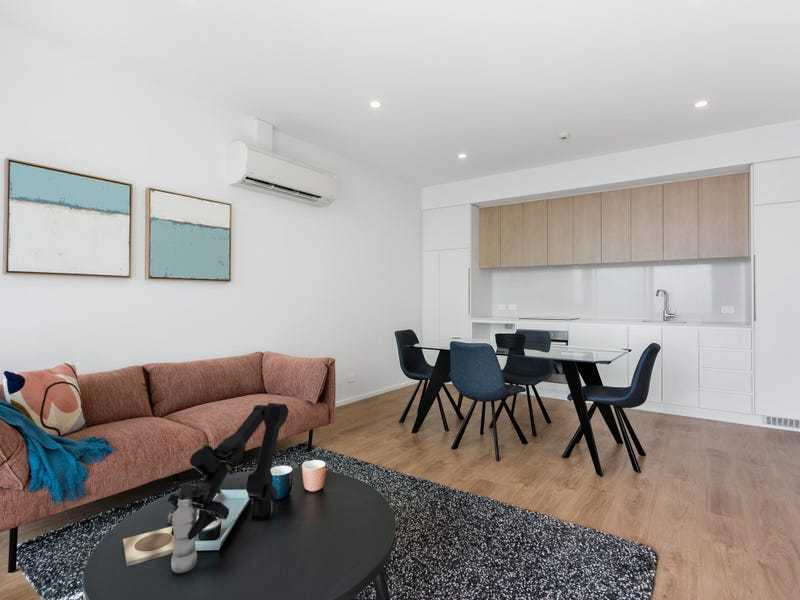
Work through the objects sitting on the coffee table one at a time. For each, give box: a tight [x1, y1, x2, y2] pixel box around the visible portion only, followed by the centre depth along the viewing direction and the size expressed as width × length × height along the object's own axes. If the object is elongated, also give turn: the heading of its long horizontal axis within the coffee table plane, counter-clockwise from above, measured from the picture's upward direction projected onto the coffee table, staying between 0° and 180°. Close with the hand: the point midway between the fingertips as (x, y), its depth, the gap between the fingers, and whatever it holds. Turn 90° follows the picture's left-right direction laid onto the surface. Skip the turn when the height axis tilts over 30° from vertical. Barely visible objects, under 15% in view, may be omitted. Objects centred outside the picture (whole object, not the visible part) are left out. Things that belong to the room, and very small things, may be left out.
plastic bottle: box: [170, 495, 199, 574], centre depth 119 cm, size 6×7×20 cm
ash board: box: [122, 525, 174, 567], centre depth 130 cm, size 15×15×1 cm
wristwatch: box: [167, 507, 175, 525], centre depth 145 cm, size 4×6×5 cm, turn 138°
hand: (180, 537), depth 117 cm, fingers closed on plastic bottle, 6 cm apart
